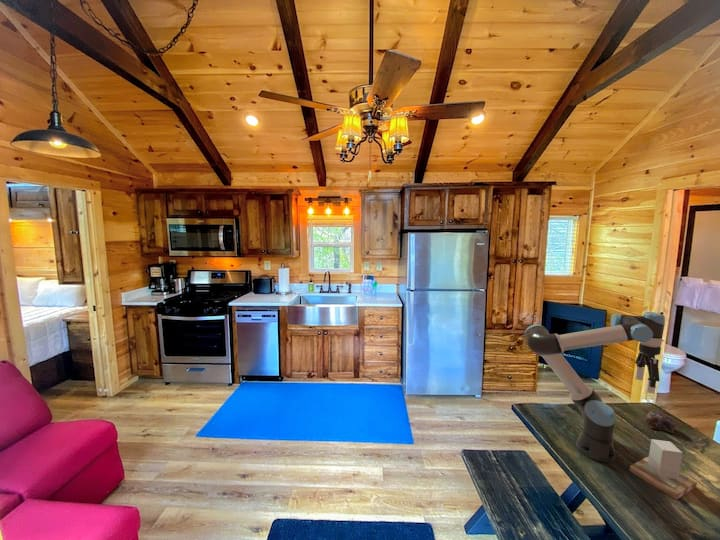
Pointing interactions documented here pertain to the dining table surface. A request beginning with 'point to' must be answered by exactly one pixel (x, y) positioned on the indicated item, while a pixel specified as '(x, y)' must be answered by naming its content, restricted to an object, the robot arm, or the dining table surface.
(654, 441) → the supplement box
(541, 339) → the robot arm
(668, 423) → the rock
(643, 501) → the dining table surface
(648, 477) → the plinth
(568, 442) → the dining table surface
